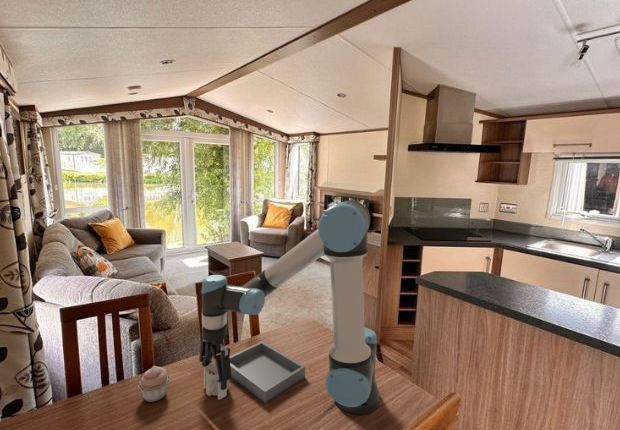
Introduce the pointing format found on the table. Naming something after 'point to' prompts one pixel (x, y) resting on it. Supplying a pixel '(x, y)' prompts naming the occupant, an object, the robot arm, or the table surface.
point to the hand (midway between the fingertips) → (214, 390)
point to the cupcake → (154, 384)
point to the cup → (212, 379)
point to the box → (265, 371)
